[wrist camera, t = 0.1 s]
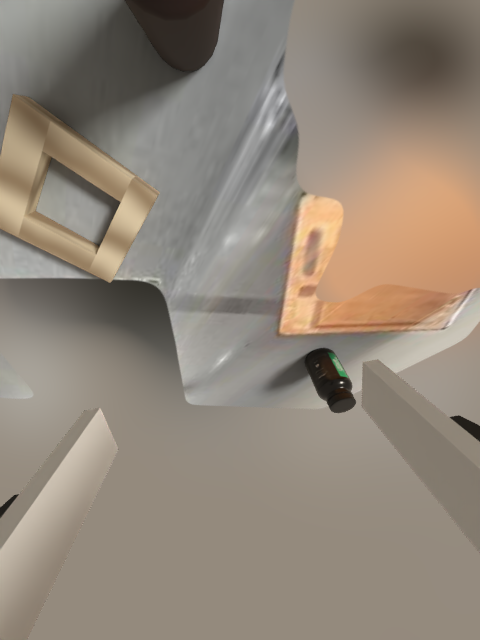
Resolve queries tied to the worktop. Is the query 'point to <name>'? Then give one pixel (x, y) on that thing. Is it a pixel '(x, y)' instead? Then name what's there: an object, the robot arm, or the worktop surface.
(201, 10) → the vinegar
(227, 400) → the worktop surface
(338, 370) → the supplement bottle
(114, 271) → the square wooden frame
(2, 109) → the worktop surface
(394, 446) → the robot arm
